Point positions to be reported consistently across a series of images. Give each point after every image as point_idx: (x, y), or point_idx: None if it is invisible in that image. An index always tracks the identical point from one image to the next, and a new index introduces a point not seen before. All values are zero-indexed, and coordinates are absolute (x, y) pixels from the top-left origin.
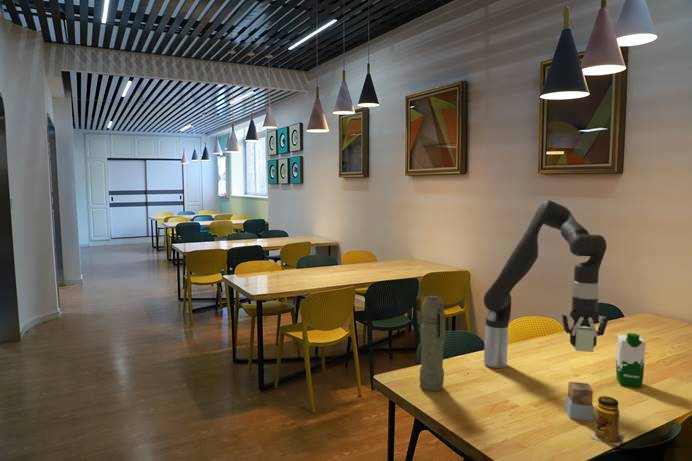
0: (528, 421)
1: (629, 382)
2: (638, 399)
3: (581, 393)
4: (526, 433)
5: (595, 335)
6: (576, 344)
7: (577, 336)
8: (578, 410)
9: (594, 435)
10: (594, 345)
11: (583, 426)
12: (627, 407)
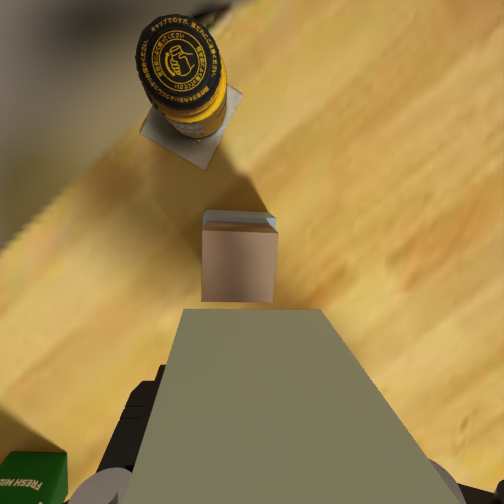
0: (389, 166)
1: (36, 463)
2: (37, 379)
3: (243, 229)
4: (417, 87)
5: (104, 491)
6: (341, 344)
7: (386, 411)
8: (248, 214)
9: (227, 114)
10: (151, 386)
11: (243, 168)
12: (83, 320)
